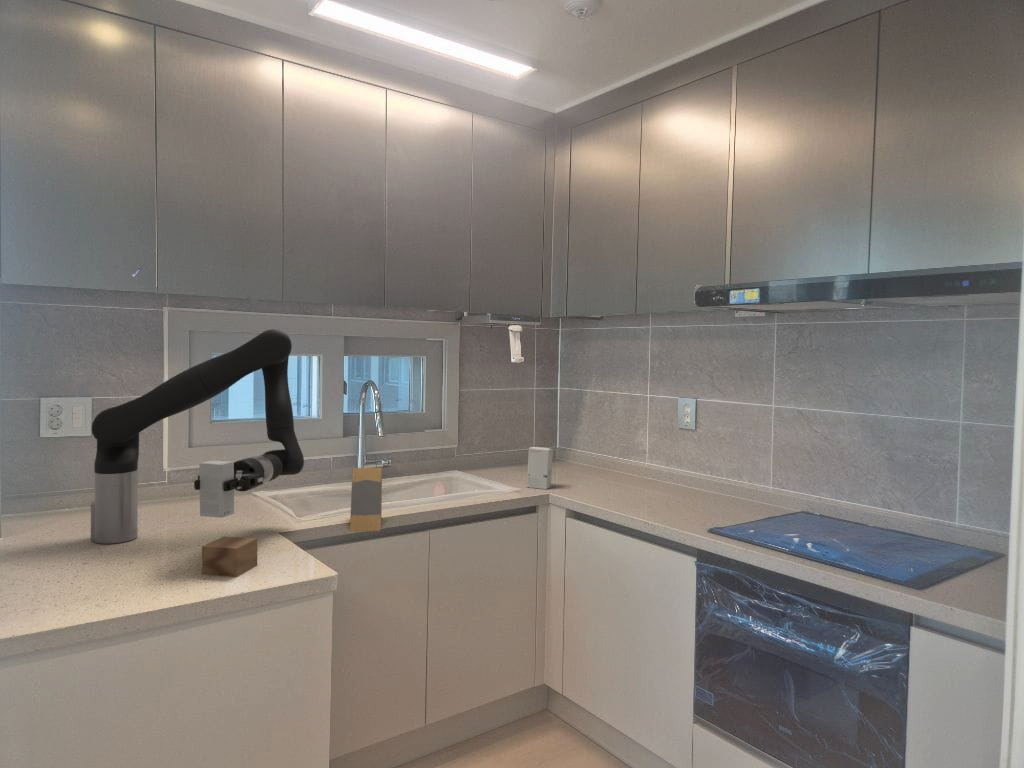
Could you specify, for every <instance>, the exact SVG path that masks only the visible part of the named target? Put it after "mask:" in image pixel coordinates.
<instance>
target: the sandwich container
mask: <svg viewBox="0 0 1024 768" xmlns="http://www.w3.org/2000/svg"><path fill="white" fill-rule="evenodd" d="M351 475H352V476H351V499H350V518H349V532H350V533H357V532H363V533H364V532H380V531H381V529H382V511H383V510H382V507H383V505H382V502H383V501H382V496H383V495H382V493H383V490H382V489H383V467H353V468H352V474H351Z"/></svg>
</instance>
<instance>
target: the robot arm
mask: <svg viewBox="0 0 1024 768" xmlns="http://www.w3.org/2000/svg"><path fill="white" fill-rule="evenodd" d="M292 347H293V346H292V340H291V338H290V337H289V335H288V334H287V333H286V332H285V331H282V330H280V329H275V328H271V329H267V330H264V331H262V332H261V333H259V334H258V335H256V336H255V337H253V338H251V339H250V340H248V341H247V342H245V343H244V344H242V345H240V346H239V347H236V348H234V349H233V350H231V351H228V352H226V353H223V354H220V355H217V356H215V357H213V358H210V359H207V360H205V361H203V362H201V363H199V364H196V365H194V366H192V367H190V368H187V369H186V370H184V371H182V372H179V373H178V374H176V375H174V376H172V377H171V378H169V379H167V380H166V381H163V382H162V383H161V384H159V385H158V386H156V387H155V388H153V389H152V390H150V391H149V392H147V393H144V394H143V395H142V396H139V397H137V398H134V399H131V400H130V401H126V402H125V403H122V404H119V405H117V406H112V407H109V408H106V409H103V410H102V411H100V412H99V413H98V414H97V415H96V416H95V417H94V419H93V421H92V423H91V424H92V425H91V433H92V437H94V439H95V440H96V453H95V459H94V469H93V470H94V471H93V473H94V476H93V477H94V480H93V481H94V483H93V484H94V485H93V486H94V489H93V490H94V501H93V502H91V503H90V541H91V542H94V543H96V544H101V545H102V544H108V545H109V544H119V543H125V542H130V541H134V540H135V539H137V538H138V537H139V536H138V530H139V529H138V521H139V520H138V515H139V514H138V512H139V511H138V510H139V509H138V508H139V507H138V503H139V502H138V499H139V497H138V490H139V489H138V488H139V487H138V486H139V485H138V483H139V482H138V479H139V477H138V473H139V472H138V466H139V464H138V463H139V455H140V433H141V432H142V431H144V430H145V429H147V428H149V427H150V426H153V425H154V424H156V423H159V421H161V420H163V419H166V418H169V417H172V416H174V415H177V414H179V413H182V412H184V411H186V410H190V409H191V408H194V407H196V406H198V405H200V404H202V403H205V402H207V401H209V400H210V399H212V398H215V397H216V396H218V395H219V394H221V393H223V392H225V391H226V390H228V389H229V388H230V387H232V386H234V385H235V384H236V383H237V382H239V381H240V380H242V379H243V378H245V377H247V376H248V375H250V374H252V373H254V372H256V371H259V370H261V371H262V376H263V385H264V405H265V407H264V408H265V409H264V410H265V411H264V412H265V423H266V434H267V438H268V440H269V441H272V442H277V443H280V444H281V445H282V446H283V448H284V449H282V448H281V449H274V450H273V449H272V450H269V451H265V452H264V453H263V454H260V455H258V456H250V457H247V458H243V459H239V460H236V461H233V462H234V479H231V480H227V481H225V482H224V491H230V490H233V489H234V491H235V490H236V491H238V492H246V491H249V490H250V491H251V490H252V489H255V488H258V487H261V486H263V485H264V484H266V483H269V482H271V481H273V480H276V479H277V478H278V477H281V476H292V475H293V476H294V475H297V474H299V473H301V471H302V470H303V468H304V465H305V458H304V457H305V456H304V454H303V451H302V449H301V447H300V445H299V442H298V438H297V435H296V432H295V424H294V422H295V421H294V413H293V404H292V399H291V394H290V388H289V378H288V376H289V373H288V372H289V371H288V369H289V357H290V354H291V353H292ZM193 488H194V490H196V491H200V474H199V475H197V479H195V480H194V483H193Z"/></svg>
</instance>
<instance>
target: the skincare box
mask: <svg viewBox="0 0 1024 768" xmlns="http://www.w3.org/2000/svg"><path fill="white" fill-rule="evenodd" d="M234 462H235V461H229V460H226V461H225V460H208V461H203V462H200V463H199V475H200V490H199V516H200V517H209V518H210V517H211V518H223V519H224V518H225V517H228V516H232V515H234V514H235V489H233V490H230V491H224V482H225V481H227V480H231V479H234Z"/></svg>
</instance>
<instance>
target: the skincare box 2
mask: <svg viewBox="0 0 1024 768" xmlns="http://www.w3.org/2000/svg"><path fill="white" fill-rule="evenodd" d="M553 453H554V449H553V448H549V447H541V446H532V447H531V446H530V447H529V448H528V454H527V455H528V456H527V471H526V472H527V474H526V488H528V487H529V488H528V489H541V490H542V489H543V490H548V489H549V488H552V474H553V473H552V472H553V471H552V470H553V458H554V457H553V455H554V454H553Z"/></svg>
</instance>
